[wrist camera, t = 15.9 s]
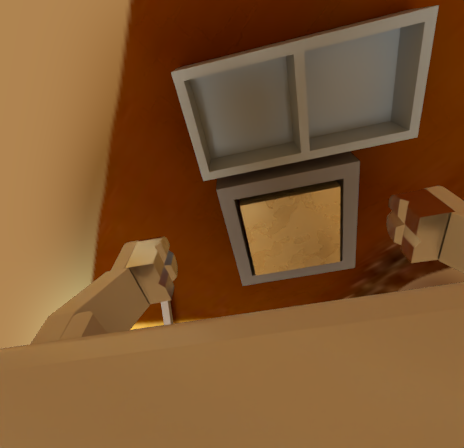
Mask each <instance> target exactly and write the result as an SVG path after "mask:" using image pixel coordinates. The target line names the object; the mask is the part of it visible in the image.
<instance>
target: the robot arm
mask: <svg viewBox="0 0 464 448" xmlns="http://www.w3.org/2000/svg"><path fill="white" fill-rule="evenodd" d="M388 206H389V208H390V209H391V210H392V211H391V213H390V214H389V215H388V216H387V223H386V225H387V230H388V234H389V236H390V238H391V239H392V240H393V241H394V242H395V243H398V244H400V245H401V251H402V253H403V254H404V255H405V256H406V257H407V259H408V260H409V261H410V262H411V263H416V262H423V261H431V260H439V261H440V262H442V263H444V264H446V265H448V266H450V267H452V268H454V269H456V270H458V271H460V272H462V273H464V201H463V200H462V199H460V198H459V197H457V196H456V195H454V194H453V193H451V192H450V191H449V190H447V189H446V188H444V187H443V186H434V187H429V188H425V189H421V190H416V191H411V192H406V193H401V194H396V195H391V197H390V199H389V204H388ZM169 247H170V244H169V242H168V240H167V238H166V237H164V236H163V237H157V238H150V239H144V240H139V241H132V242H127V243H125V244H124V246H123V248H122V250H121V252H120V254H119V256H118V258H117V260H116V261H115V263H114V265H113V267H112V269H111V271H108V272H106V273H104V274H103V275H102V276H100V277H99V278H98V279H97V280H95V281H94V282H93V283H91V284H90V285H89V286H87V287H86V288H85V289H84V290H82V291H81V292H80V293H79V294H77V295H76V296H74V297H73V298H72V299H71V300H69V301H68V302H67V303H65V304H64V305H63V306H62V307H60V308H59V309H58V310H56V311H55V312H54V313H52V314H51V315H50V316H49V317H48V318H47V320H46V321H45V323H44V324H43V326H42V327H41V329H40V330H39V332H38V333H37V335H36V336H35V338H34V339H33V341H32V342H31V344H30V345H23V346H16V347H10V348H3V349H0V448H464V282H459V283H452V284H446V285H439V286H432V287H425V288H418V289H411V290H404V291H397V292H390V293H383V294H376V295H369V296H362V297H355V298H348V299H341V300H334V301H327V302H321V303H314V304H307V305H300V306H293V307H286V308H280V309H273V310H266V311H259V312H252V313H245V314H238V315H231V316H224V317H217V318H210V319H204V320H197V321H190V322H183V323H176V324H169V325H162V326H155V327H148V328H141V329H134V330H130V329H131V328H132V326H133V325H134V324H135V323H136V321H137V320H138V319H139V318H140V316H141V315H142V314H143V313H144V312H145V310H146V309H147V308H148V307H149V304H153V303H159V302H164V301H169V300H171V299H172V295H173V291H174V284H173V281H174V280H175V279H176V277H177V272H178V271H177V262H176V258H175V256H174V254H173V253H172V252H170V251H169Z"/></svg>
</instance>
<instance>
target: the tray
mask: <svg viewBox="0 0 464 448" xmlns="http://www.w3.org/2000/svg"><path fill="white" fill-rule="evenodd" d="M438 7H439V5H437V6H430V7H423V8H417V9H410V10H405V11H401V12H397V13H393V14H389V15H386V16H382V17H378V18H374V19H370V20H366V21H362V22H358V23H354V24H350V25H346V26H342V27H338V28H334V29H330V30H326V31H322V32H318V33H314V34H310V35H306V36H302V37H298V38H294V39H290V40H286V41H282V42H278V43H274V44H270V45H266V46H263V47H259V48H255V49H251V50H247V51H243V52H239V53H235V54H231V55H227V56H223V57H219V58H215V59H211V60H207V61H203V62H199V63H195V64H191V65H187V66H183V67H179V68H177V69H176V70H174V71H172V72H171V74H172V78H173V81H174V84H175V88H176V91H177V94H178V98H179V101H180V104H181V108H182V111H183V114H184V118H185V121H186V125H187V128H188V131H189V135H190V138H191V141H192V145H193V148H194V151H195V155H196V158H197V161H198V165H199V168H200V171H201V175H202V178H203V181H207V180H212V179H216V178H221V177H226V176H231V175H236V174H241V173H246V172H251V171H255V170H260V169H265V168H270V167H275V166H280V165H285V164H290V163H295V162H299V161H304V160H309V159H314V158H319V157H324V156H329V155H334V154H338V153H343V152H348V151H353V150H358V149H363V148H368V147H373V146H377V145H382V144H387V143H392V142H397V141H402V140H407V139H412V138H416V137H418V131H419V125H420V119H421V112H422V106H423V100H424V94H425V88H426V82H427V75H428V69H429V63H430V57H431V51H432V44H433V38H434V32H435V26H436V20H437V14H438Z"/></svg>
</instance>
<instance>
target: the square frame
mask: <svg viewBox="0 0 464 448" xmlns="http://www.w3.org/2000/svg"><path fill="white" fill-rule="evenodd" d="M359 173H360V161H359V160H358V159H357V158H356V157H355V156H354V155H353V154H352V153H351V152H350V151H348V152H343V153H338V154H334V155H329V156H324V157H319V158H314V159H309V160H304V161H299V162H295V163H290V164H285V165H280V166H275V167H270V168H265V169H260V170H255V171H251V172H246V173H241V174H236V175H231V176H226V177H221V178H217V187H216V191H217V194H218V198H219V202H220V205H221V209H222V213H223V216H224V220H225V224H226V227H227V231H228V234H229V238H230V242H231V245H232V249H233V253H234V256H235V260H236V264H237V267H238V271H239V274H240V278H241V282H242V285H243V286H246V285H252V284H258V283H264V282H270V281H277V280H283V279H289V278H295V277H301V276H307V275H314V274H320V273H326V272H332V271H338V270H345V269H351V268H355V256H356V235H357V214H358V194H359ZM333 180H336V181H337V183H338V184H339V185H340V262H336V263H330V264H324V265H318V266H311V267H305V268H299V269H293V270H287V271H281V272H275V273H269V274H263V275H257V276H256V274H255V269H254V265H253V260H252V256H251V255H250V253H249V248H248V244H247V240H246V235H245V231H244V227H243V222H242V218H241V214H240V210H239V205H238V201H237V199H241V198H246V197H252V196H257V195H262V194H267V193H272V192H277V191H282V190H287V189H292V188H298V187H303V186H308V185H313V184H318V183H323V182H328V181H333Z"/></svg>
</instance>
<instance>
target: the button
mask: <svg viewBox="0 0 464 448" xmlns="http://www.w3.org/2000/svg"><path fill="white" fill-rule="evenodd" d="M239 200H240V208H241V213H242V217H243V221H244V226H245V230H246V234H247V239H248V243H249V247H250V252H251V256H252V260H253V265H254V269H255V274H256V276H257V275H263V274H269V273H275V272H281V271H287V270H293V269H299V268H305V267H311V266H318V265H324V264H330V263H336V262H340V185H339V184H338V183H337V181H336V180H333V181H328V182H323V183H318V184H313V185H308V186H303V187H298V188H292V189H287V190H282V191H277V192H272V193H267V194H262V195H257V196H252V197H246V198H241V199H239Z"/></svg>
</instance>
